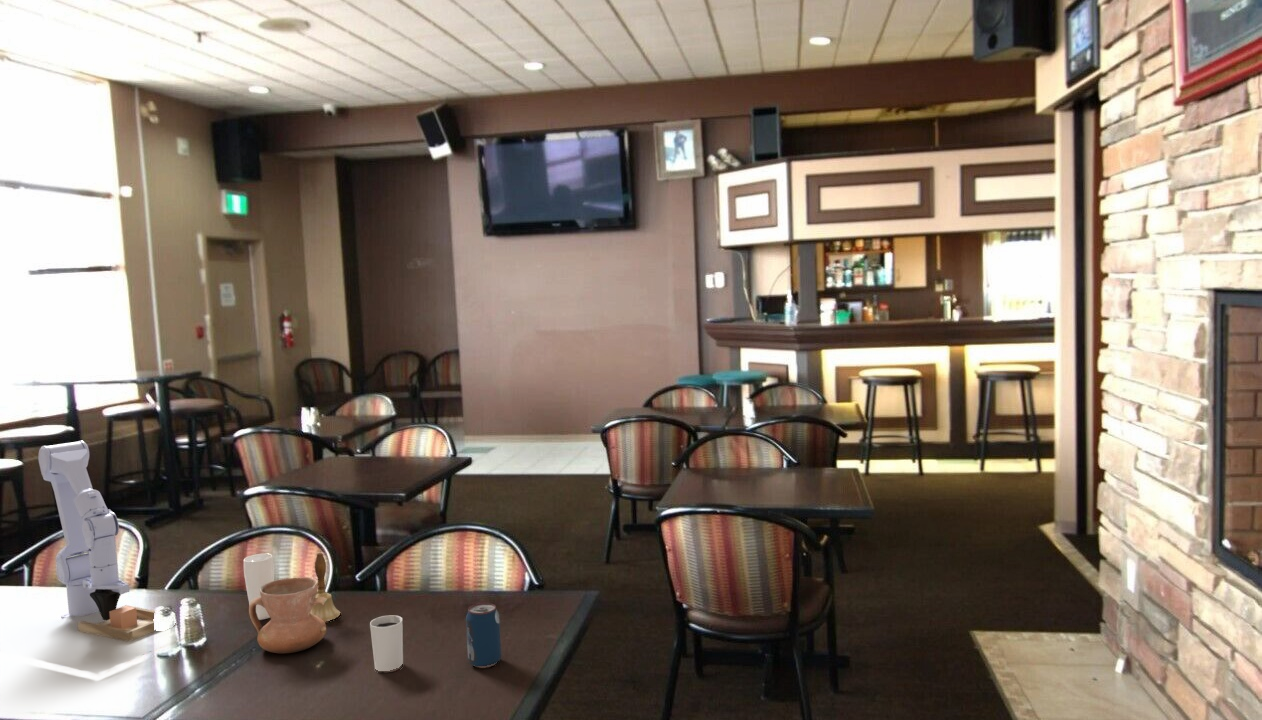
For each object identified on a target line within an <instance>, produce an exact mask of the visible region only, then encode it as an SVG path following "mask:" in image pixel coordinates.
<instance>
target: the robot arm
mask: <svg viewBox="0 0 1262 720" xmlns="http://www.w3.org/2000/svg"><path fill="white" fill-rule="evenodd" d="M37 458H38V464H39V469H40V472H41V473H40V474H41V476H42V478H43V480H44V481H46V482H49V483H51V486H52V489H53V494H54V498H55V501H56V506H57V511H58V515H59V520H60V524H61V528H62V529H61V530H62V534H63V536H64V537H63V538H64V541H65V542H64V543H65V545H64V547H62V548H61V549H60V550H59V551H58V552H57V554H56V556H55V564H56V565H55V568H56V569H55V571H56V576H57V579H58V580H59V582H60V583H62V584H63V585H65V586H66V587H65V588H66V597H67V605H68V606H67V607H68V613H66V614H63V615H61V616H60V618H61V619H65V618H68V617H71V616H72V617H81V616H89V615H91V614H94V613H98V612H99V615H100V616H101V619H102V620H103V621H106V620H109V619H110V614H109V611H112V610H115V609H117V605H118V602H119V600H120V597H121V595H123V594H126V593H130V584H129V583H127V582H124V581H123V580H122V579H120V576H119V566H118V565H119V563H118V553H117V543H116V536H117V535H118V534H119V532H120V526H119V525H120V524H119V520H118V517H117V515H116V513H115V512H113V511H112V510H111V509H110V508H109V509H108V507H107V505H106V503H105V501H104V500H105V499H104V498H103V496H102V494H101V492H100V491H99V490H97V489H93V485H92V482H91V479H90V476H89V473H88V470H87V467H88V465H89V460H90V449H89V446H88V444H87V443H86V441H84V440H78V441H73V442H65V443H64V442H63V443H58V444H53V445H42V446H41V447H40V448H39V450H38V457H37Z"/></svg>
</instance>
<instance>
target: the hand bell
mask: <svg viewBox="0 0 1262 720" xmlns="http://www.w3.org/2000/svg"><path fill="white" fill-rule="evenodd" d="M314 570H315V575H316V578H317V582H318V589H317V594H316V598H318V597H324V598H326V599H327V600H326V601H325V603H324V605H322V604H320V603H318V604H316V605H314V606H313V607H312V610H311V612H310V613H311V614H313V615H315V616H317V617H319V618H321V619H322V620H323V621H324V622H325V623H327V622H326V621H330V620H332V619H335V618H336V617H338V616H339V615H340V613H341V612H340V610H338V608H336V606H335V604H334V602H333V597H332V594H331V593H328V592H327V591H326V584H325V583H326V581H325V576H326V572H327V562H326V560H325V557H324V555H323V553H322V552H318V553H316V558H315V561H314ZM330 622H331V621H330Z"/></svg>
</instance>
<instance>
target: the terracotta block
mask: <svg viewBox="0 0 1262 720" xmlns="http://www.w3.org/2000/svg"><path fill="white" fill-rule="evenodd" d="M129 606H130V605H127V606H125V605H123V607H122V606H120V607H118V608H116V609H115V610H112V611H109V614H110V625H111V627H114V628H119V629H126V628H128V627H131V626H133V625H136V624H137V622H138V618H137V613H136V608H134V607H135V606H132V607H129Z"/></svg>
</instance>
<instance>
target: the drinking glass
mask: <svg viewBox="0 0 1262 720" xmlns="http://www.w3.org/2000/svg"><path fill="white" fill-rule="evenodd" d="M274 567H275V566H274V557H273V555H272V554H271V553H258V554H257V553H256V554H252V555H249V556H246V557H244V559H243V576H244V580H245V581H244V582H245V586H246V587H245V588H246V593H247V599H248V600H247V601H248V604H249V606H250V603H251V602H252V601H253V600H254V599H256V598H261V595H260V588H261V587H262V586H263V585H264V584H266V583H269V582H271V581H275V568H274ZM256 613H257V617H258V619H259V621H263V620H266V619H271V618H270V616H269V615H268V613H267V611H266V609H265V608H264V607H263V606H261V605H256Z"/></svg>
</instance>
